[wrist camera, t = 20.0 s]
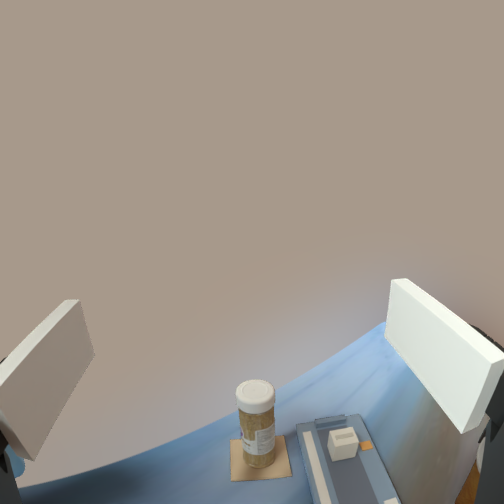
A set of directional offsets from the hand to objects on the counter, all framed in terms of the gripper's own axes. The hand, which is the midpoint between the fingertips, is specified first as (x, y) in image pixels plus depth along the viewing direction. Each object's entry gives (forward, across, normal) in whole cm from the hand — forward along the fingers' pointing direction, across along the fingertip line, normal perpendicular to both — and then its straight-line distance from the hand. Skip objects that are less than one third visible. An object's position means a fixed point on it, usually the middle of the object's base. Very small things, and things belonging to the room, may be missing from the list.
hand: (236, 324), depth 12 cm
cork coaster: (+17, +1, -32) cm, 36 cm away
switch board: (+11, +12, -32) cm, 36 cm away
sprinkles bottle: (+17, +1, -32) cm, 36 cm away
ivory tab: (+15, +12, -30) cm, 36 cm away
